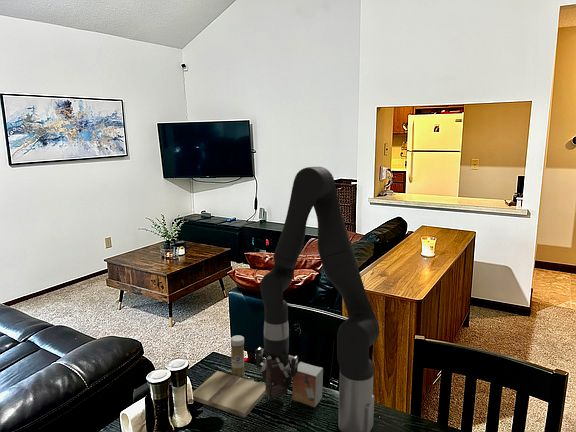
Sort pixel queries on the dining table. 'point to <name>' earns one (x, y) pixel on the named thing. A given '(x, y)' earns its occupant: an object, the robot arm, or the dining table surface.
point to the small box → (308, 384)
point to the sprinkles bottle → (237, 355)
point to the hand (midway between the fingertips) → (276, 383)
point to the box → (275, 379)
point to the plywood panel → (230, 393)
